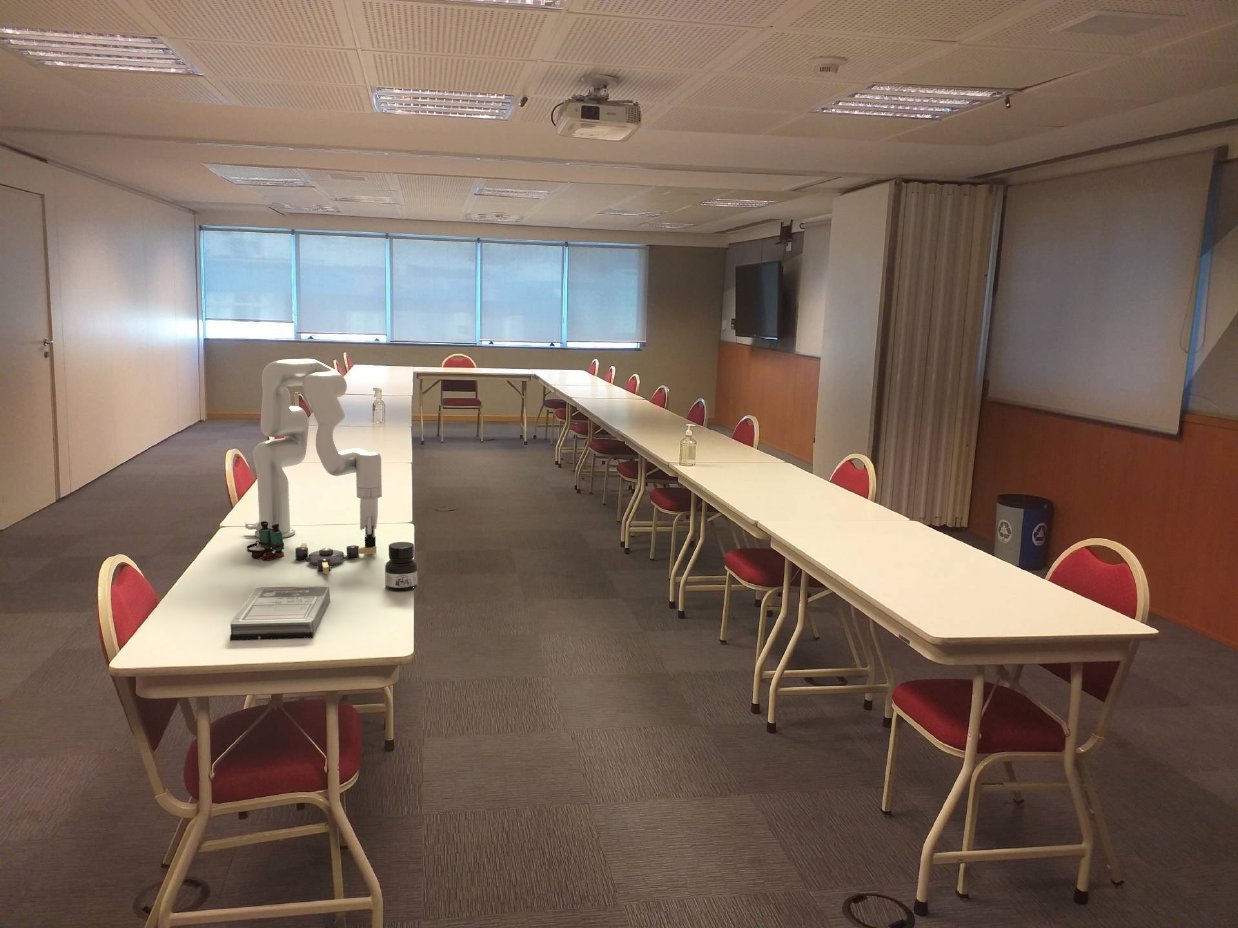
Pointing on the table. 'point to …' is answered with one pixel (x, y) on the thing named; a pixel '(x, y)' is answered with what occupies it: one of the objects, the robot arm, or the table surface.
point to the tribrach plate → (327, 556)
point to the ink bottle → (401, 567)
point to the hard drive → (281, 613)
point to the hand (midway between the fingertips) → (370, 549)
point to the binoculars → (268, 543)
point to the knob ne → (359, 551)
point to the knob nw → (301, 552)
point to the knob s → (324, 565)
